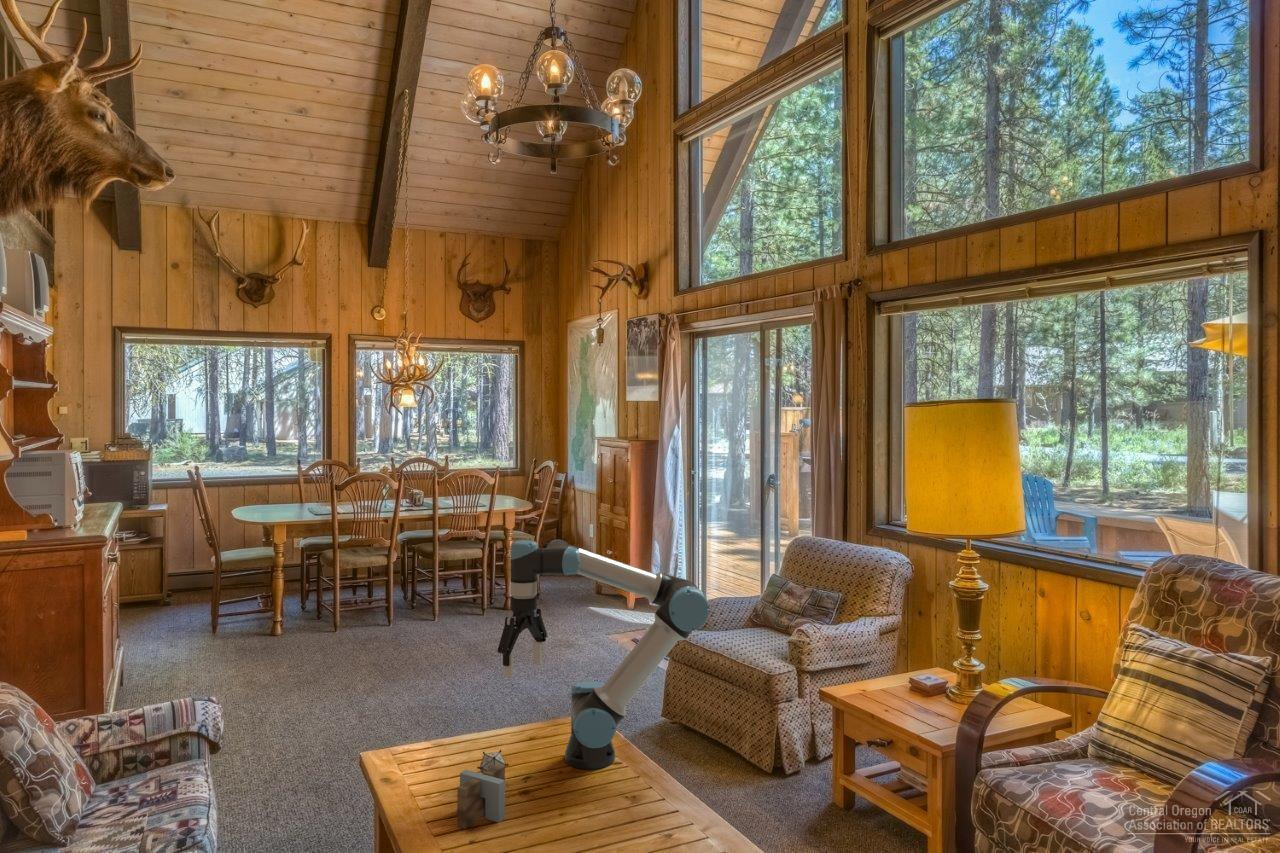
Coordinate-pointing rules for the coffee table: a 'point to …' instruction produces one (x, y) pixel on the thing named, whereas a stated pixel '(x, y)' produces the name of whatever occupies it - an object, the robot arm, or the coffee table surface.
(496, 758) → the game die
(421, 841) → the coffee table surface
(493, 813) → the cross plank
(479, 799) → the base plank
